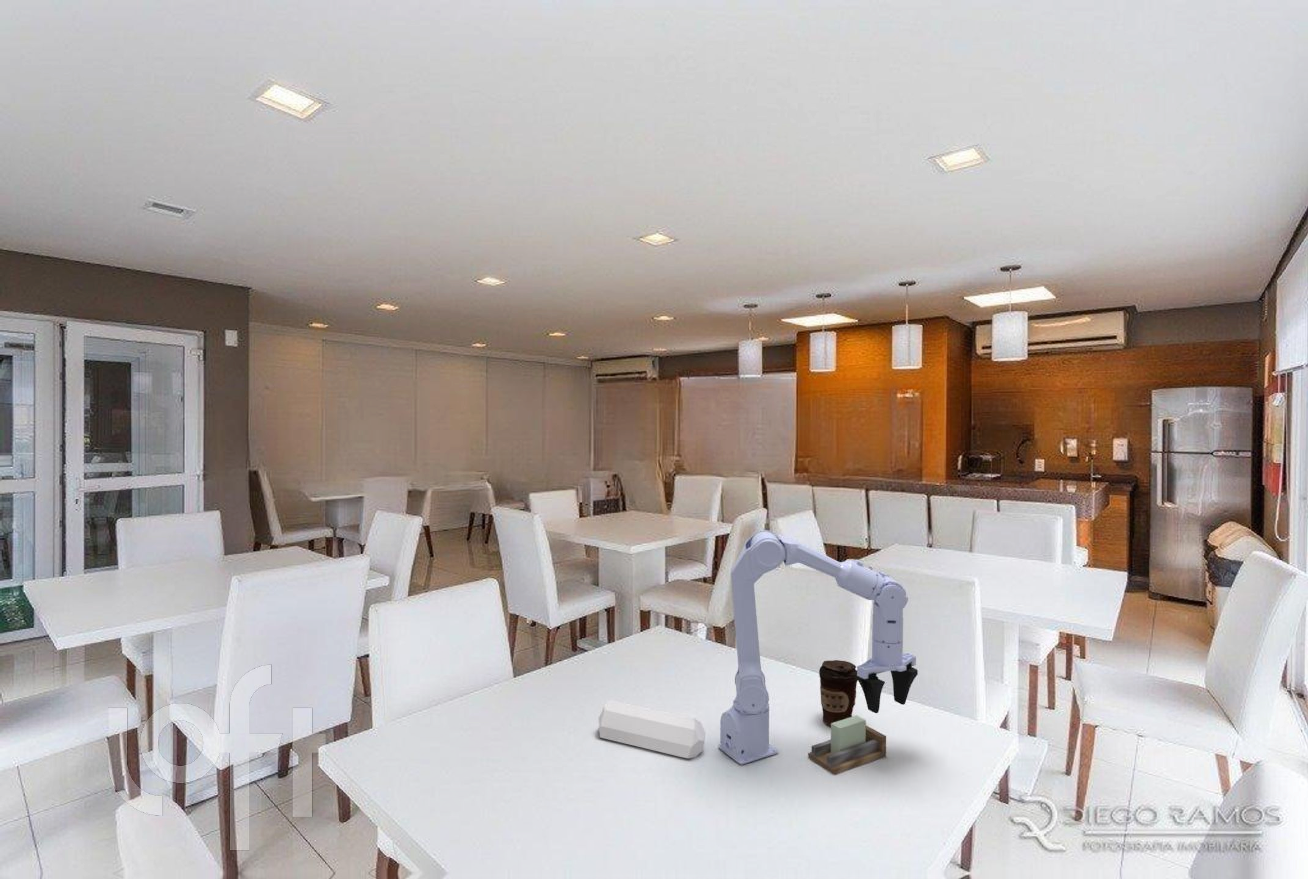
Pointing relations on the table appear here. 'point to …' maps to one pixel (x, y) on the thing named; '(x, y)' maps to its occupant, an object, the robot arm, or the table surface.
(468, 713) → the table surface
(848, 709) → the coffee cup
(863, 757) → the track sill
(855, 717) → the door panel
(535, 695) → the table surface
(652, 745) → the crystal
